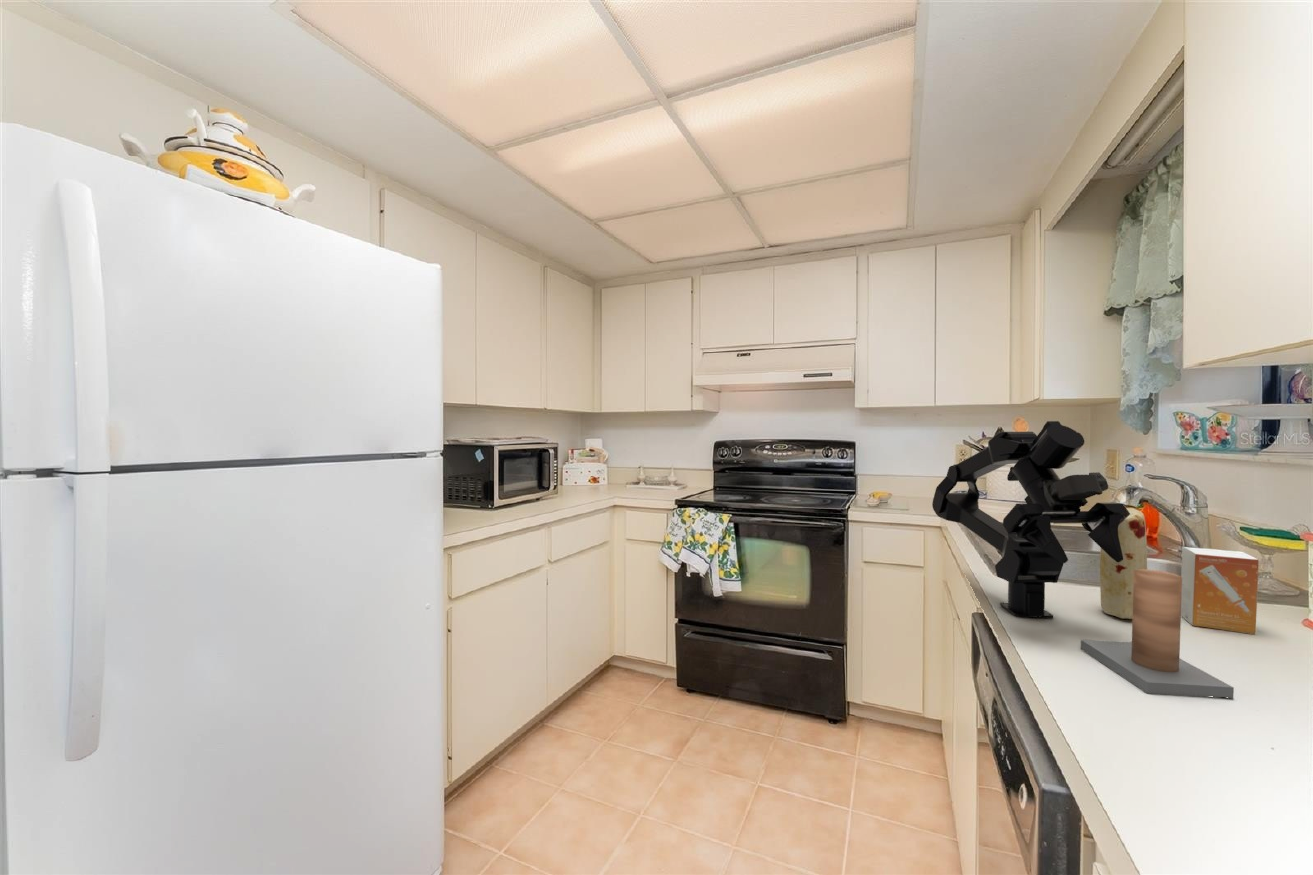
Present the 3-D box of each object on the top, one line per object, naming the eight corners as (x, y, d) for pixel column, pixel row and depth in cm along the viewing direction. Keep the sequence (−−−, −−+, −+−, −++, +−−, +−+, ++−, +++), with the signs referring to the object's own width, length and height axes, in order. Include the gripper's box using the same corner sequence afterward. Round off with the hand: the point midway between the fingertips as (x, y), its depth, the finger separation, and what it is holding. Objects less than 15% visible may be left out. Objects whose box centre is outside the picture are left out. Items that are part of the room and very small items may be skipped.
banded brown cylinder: (1129, 653, 80) (1132, 567, 79) (1175, 662, 77) (1179, 573, 76) (1133, 665, 76) (1135, 575, 75) (1181, 675, 73) (1185, 582, 72)
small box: (1192, 626, 94) (1194, 553, 94) (1179, 615, 100) (1181, 545, 99) (1257, 635, 90) (1260, 559, 90) (1240, 623, 96) (1242, 550, 95)
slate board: (1080, 648, 85) (1080, 639, 85) (1151, 652, 83) (1151, 643, 83) (1146, 693, 71) (1147, 682, 71) (1233, 698, 70) (1233, 687, 70)
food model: (1149, 627, 94) (1151, 514, 93) (1099, 618, 98) (1102, 510, 97) (1144, 611, 101) (1146, 506, 101) (1098, 604, 106) (1100, 503, 105)
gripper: (1015, 456, 91) (1066, 534, 80) (1121, 455, 91) (1185, 533, 81) (984, 496, 99) (1027, 572, 88) (1081, 495, 100) (1135, 570, 89)
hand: (1093, 561), depth 86 cm, fingers open, 9 cm apart
